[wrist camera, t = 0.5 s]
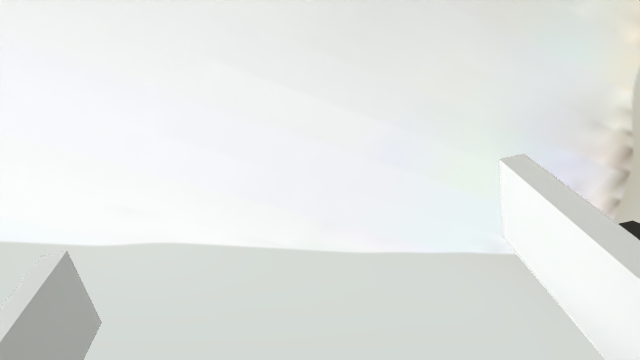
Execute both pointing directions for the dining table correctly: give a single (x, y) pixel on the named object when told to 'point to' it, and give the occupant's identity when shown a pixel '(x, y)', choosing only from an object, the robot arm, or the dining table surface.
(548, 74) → the dining table surface
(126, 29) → the dining table surface
